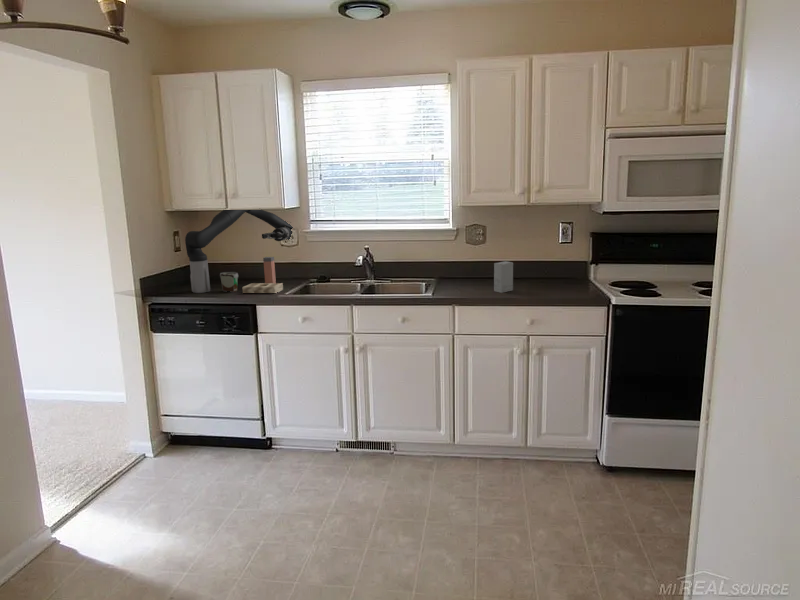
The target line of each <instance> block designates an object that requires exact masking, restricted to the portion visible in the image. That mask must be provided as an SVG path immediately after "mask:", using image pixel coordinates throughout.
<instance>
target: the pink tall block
mask: <svg viewBox="0 0 800 600" xmlns="http://www.w3.org/2000/svg"><path fill="white" fill-rule="evenodd" d="M262 260H263V261H262V262H263V272H264V273H263V274H264V283H277V281H276V268H275V266H276V265H275V256H265V257H263V259H262Z"/></svg>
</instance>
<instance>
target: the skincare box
mask: <svg viewBox="0 0 800 600" xmlns="http://www.w3.org/2000/svg"><path fill="white" fill-rule="evenodd" d="M493 267H494V268H493V291H494V292H497V293H501V294H503V293H506V292H513V291H514V262H512V261H508V260H507V261H506V260H504V261H500V262H494V263H493Z"/></svg>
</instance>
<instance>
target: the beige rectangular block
mask: <svg viewBox="0 0 800 600" xmlns="http://www.w3.org/2000/svg"><path fill="white" fill-rule="evenodd" d="M283 284H284V283H283V282H281V283H279V282H276V283H265V282H264V283H263V282H262V283H261V282H259V283H256V282H253V283H252V282H251V283H249V284H247V285H244V286H242V294H243V293H276V294H277V292H278V293H279V292H281V291H284V285H283Z"/></svg>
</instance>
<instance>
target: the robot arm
mask: <svg viewBox="0 0 800 600" xmlns="http://www.w3.org/2000/svg"><path fill="white" fill-rule="evenodd" d="M244 214H248V215H251V216H252V217H255V218H257V219H259V220H262V221H263V222H264V223H266V224H268V225H269V226H271V227H272V228H274V230H273V231H272V232H266V233H265V232H264V233H261V239H263V240H266V239H269V240H272V239H273V240H274V241H276V242H281V241H285V240H287V239H288V240H287V241H290V240H289V239H290V237H291V234H292V231H291V229H292V228H293V227H292V226H291V225H290V224H288V223H287V222H288V221H287V220H285V219H283V218H281V217H279V216H278V214H275V213H273V212H269V211H267V210H264V209H261V210H224V209H223V210H222V211H220V212H219V213H217V214H216V215H215V216H214V217H212V220H211V222H210V224H209V225H207V227H205V228H204V229H201V230H191V231H187V233H186V235H185V237H184V241H185V242H184V243H185V251H186V255H187V258H188V259H189V267H190V268H189V270H190V275H189V277H190V286H191V292H193V293H194V294H195V293H196V294H201V293H202V294H203V293H208V292H211V284H210V273H209V264H208V262H209V261H208V256H207V254H206V253H204V252H203V250H202V249H203V248H206V247H207V246H208V245H209V244H210V243H211V242H212V241H213V240H214V239H215V238H216V237H218V236H219V235H220V234H222V233H223V232H224V231H226V230H227V229H228V228H230V227H231V226H232V225H233V224H234V223H235V222H237V221H238V220H239V219H240V218H241V217H242V216H243V215H244ZM284 220H285V221H284ZM286 221H287V222H286Z"/></svg>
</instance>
